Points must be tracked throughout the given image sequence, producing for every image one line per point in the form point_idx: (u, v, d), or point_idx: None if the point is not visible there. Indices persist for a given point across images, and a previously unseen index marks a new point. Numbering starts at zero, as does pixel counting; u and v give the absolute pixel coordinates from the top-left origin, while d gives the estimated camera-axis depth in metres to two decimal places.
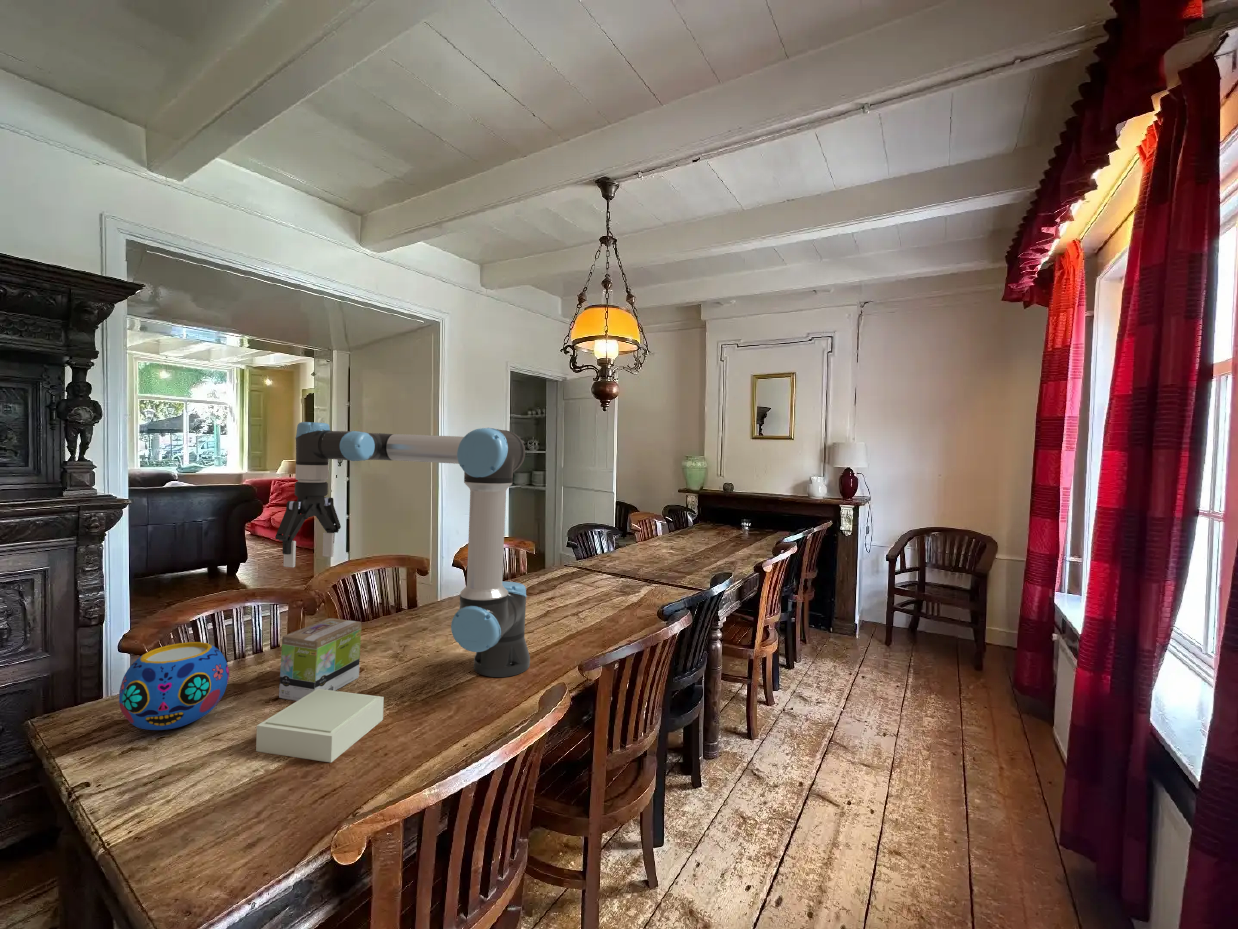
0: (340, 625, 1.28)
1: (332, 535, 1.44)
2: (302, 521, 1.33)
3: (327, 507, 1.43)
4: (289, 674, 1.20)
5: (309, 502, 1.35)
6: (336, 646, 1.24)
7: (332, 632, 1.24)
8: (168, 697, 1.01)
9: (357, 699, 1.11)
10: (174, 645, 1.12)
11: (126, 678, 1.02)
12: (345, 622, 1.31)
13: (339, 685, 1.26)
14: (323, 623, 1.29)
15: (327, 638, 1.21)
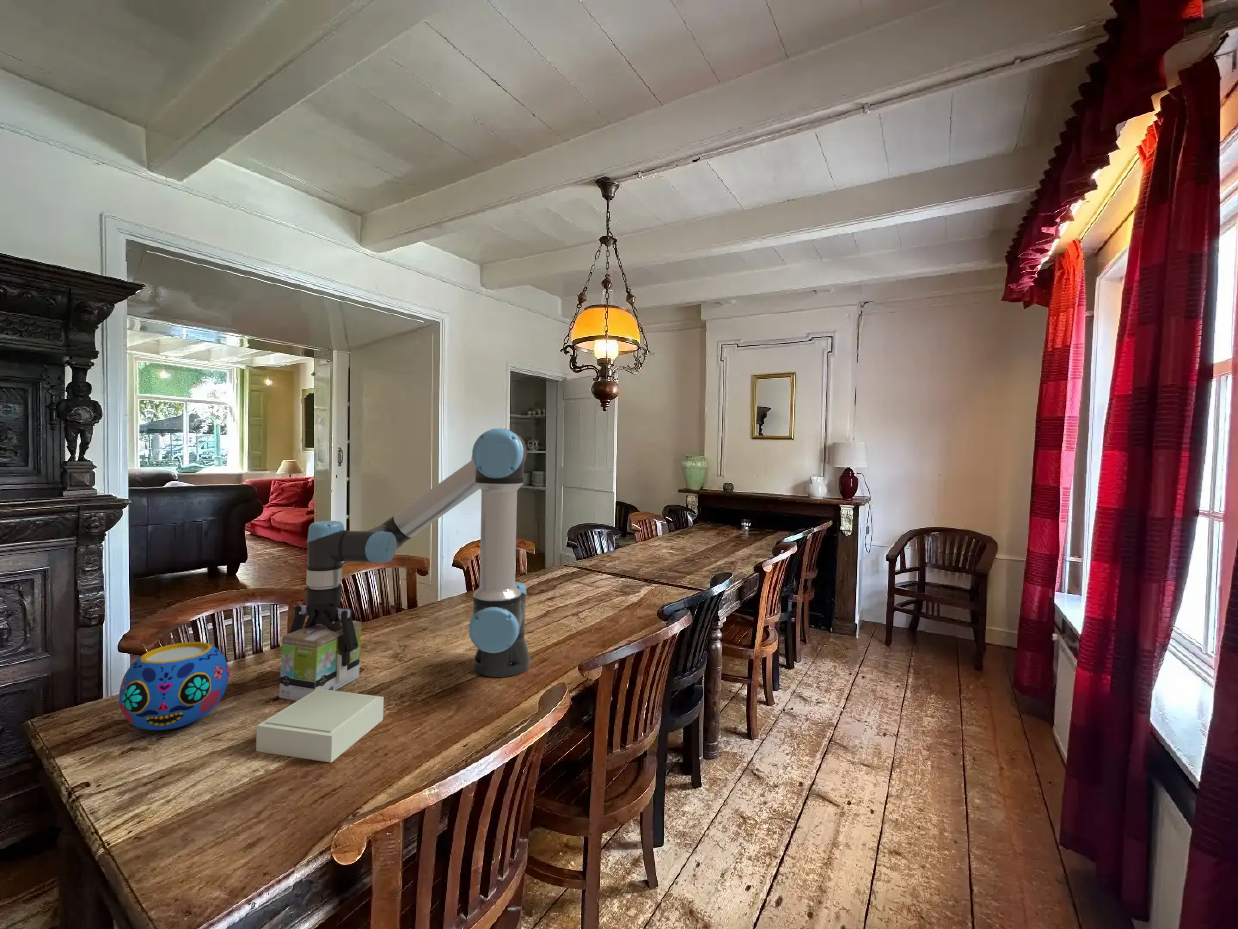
0: None
1: (338, 656, 1.24)
2: None
3: None
4: (290, 673, 1.20)
5: (312, 607, 1.25)
6: (336, 645, 1.24)
7: (333, 632, 1.24)
8: (168, 697, 1.01)
9: (357, 699, 1.11)
10: (174, 645, 1.12)
11: (126, 678, 1.02)
12: None
13: (339, 685, 1.26)
14: None
15: (327, 638, 1.21)
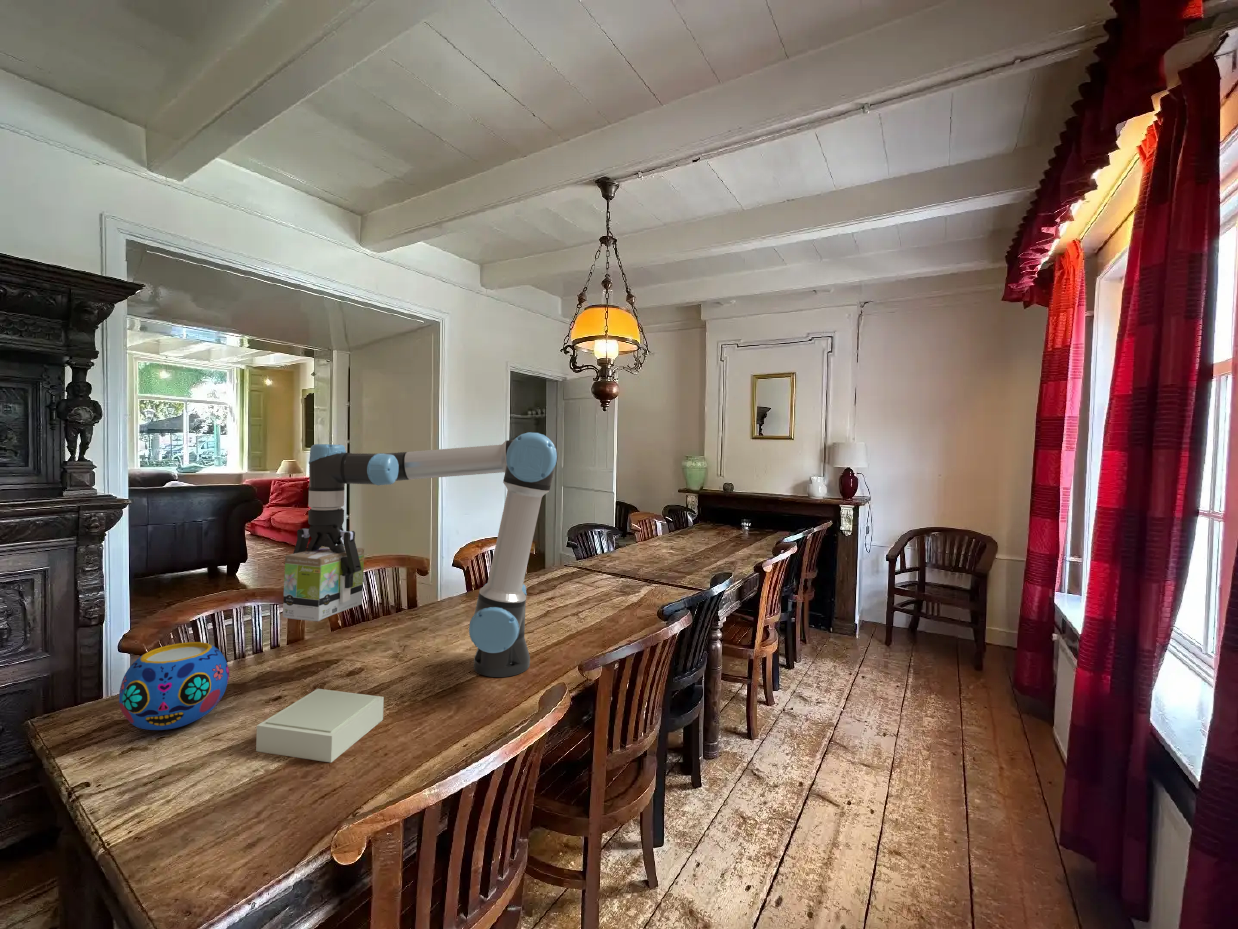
0: None
1: (341, 578, 1.24)
2: None
3: None
4: (293, 592, 1.19)
5: (315, 529, 1.25)
6: (340, 567, 1.24)
7: (336, 553, 1.24)
8: (168, 697, 1.01)
9: (357, 699, 1.11)
10: (174, 645, 1.12)
11: (126, 678, 1.02)
12: None
13: (343, 607, 1.26)
14: (326, 548, 1.29)
15: (330, 557, 1.21)
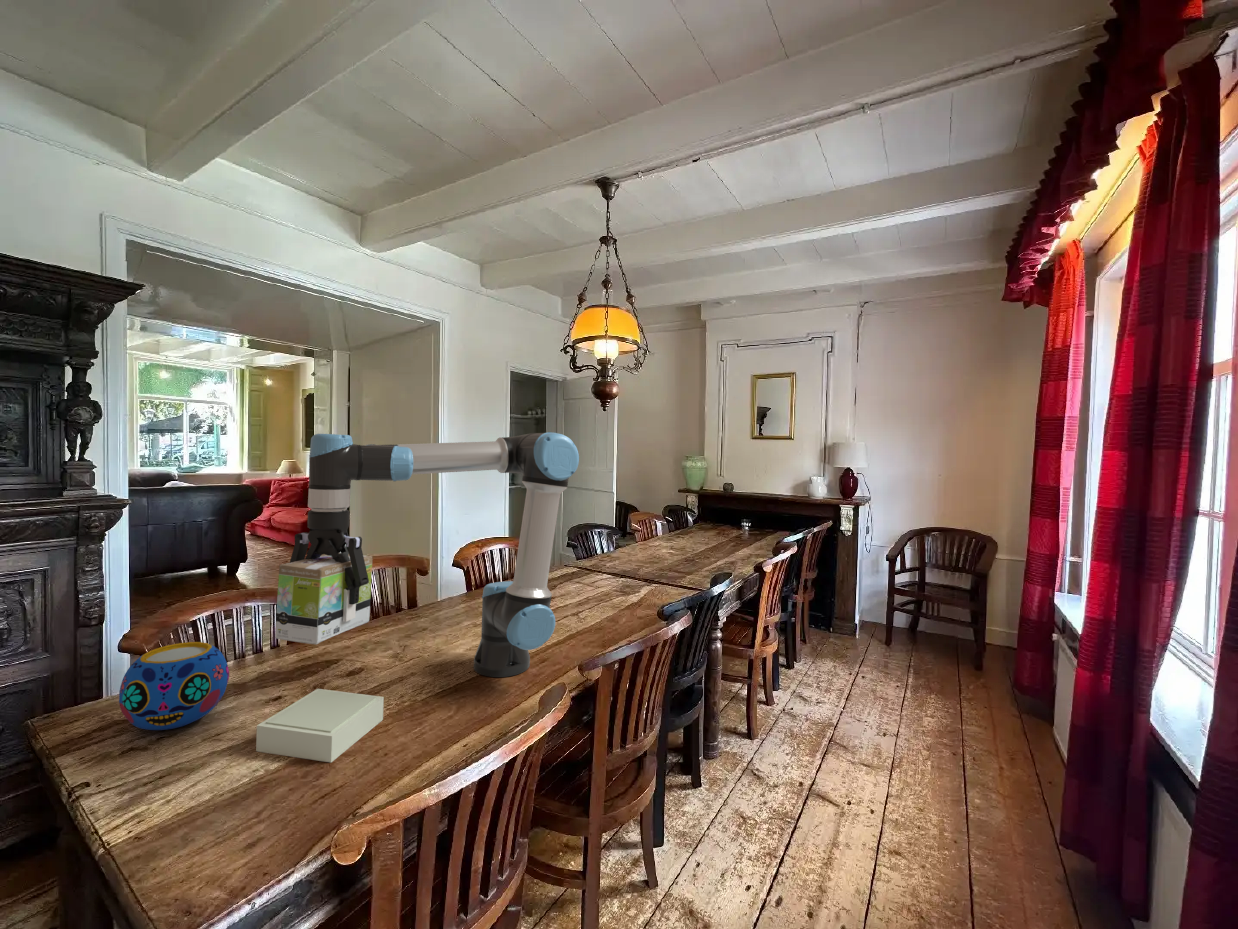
0: None
1: (345, 592, 1.05)
2: None
3: None
4: (288, 609, 1.00)
5: (315, 534, 1.06)
6: (343, 579, 1.05)
7: (339, 563, 1.05)
8: (168, 697, 1.01)
9: (357, 699, 1.11)
10: (174, 645, 1.12)
11: (126, 678, 1.02)
12: None
13: (346, 627, 1.07)
14: (328, 556, 1.10)
15: (332, 568, 1.02)
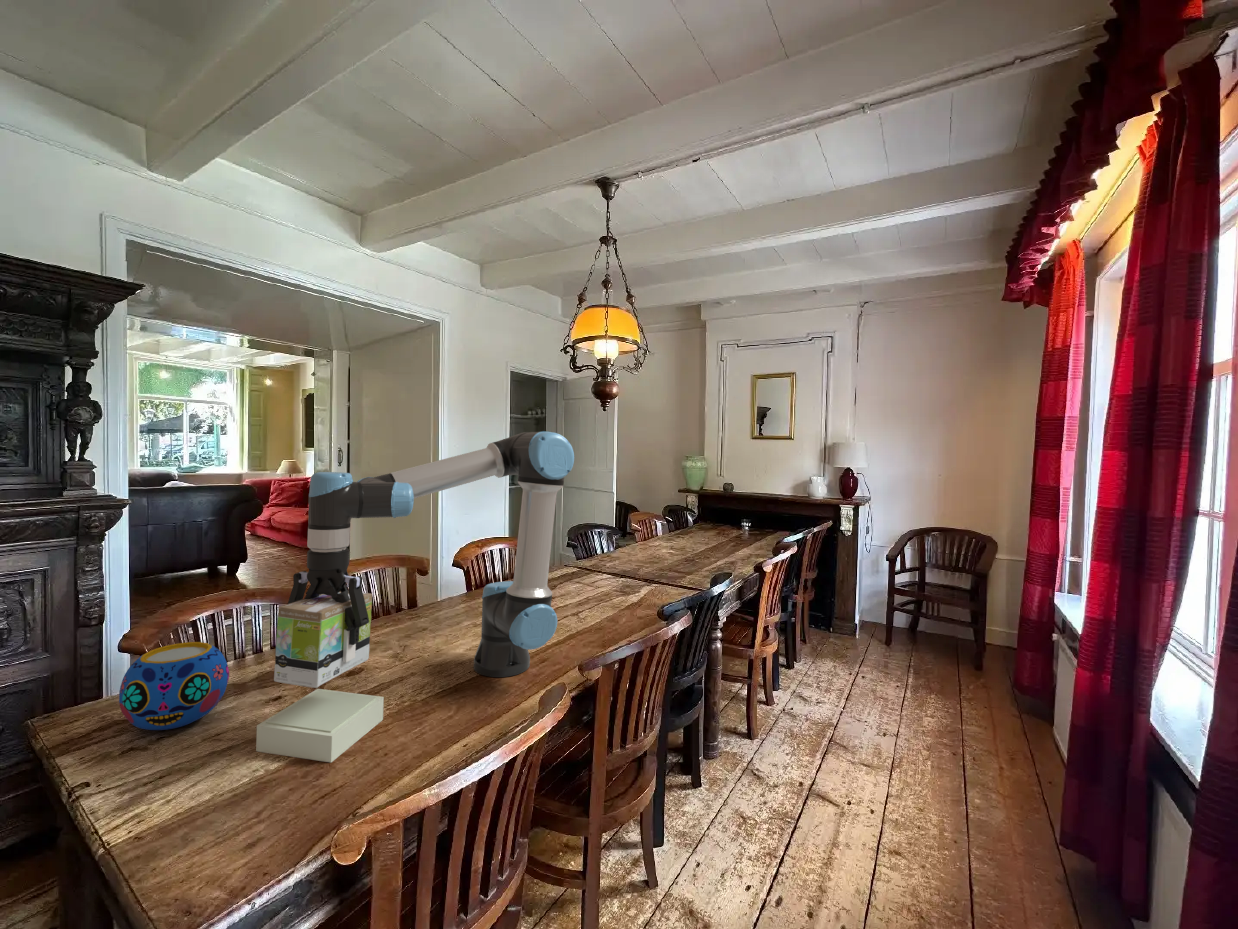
0: None
1: (345, 632, 1.04)
2: None
3: None
4: (287, 652, 0.99)
5: (315, 574, 1.05)
6: (343, 620, 1.04)
7: (339, 603, 1.03)
8: (168, 697, 1.01)
9: (357, 699, 1.11)
10: (174, 645, 1.12)
11: (126, 678, 1.02)
12: None
13: (346, 667, 1.05)
14: None
15: (333, 610, 1.01)
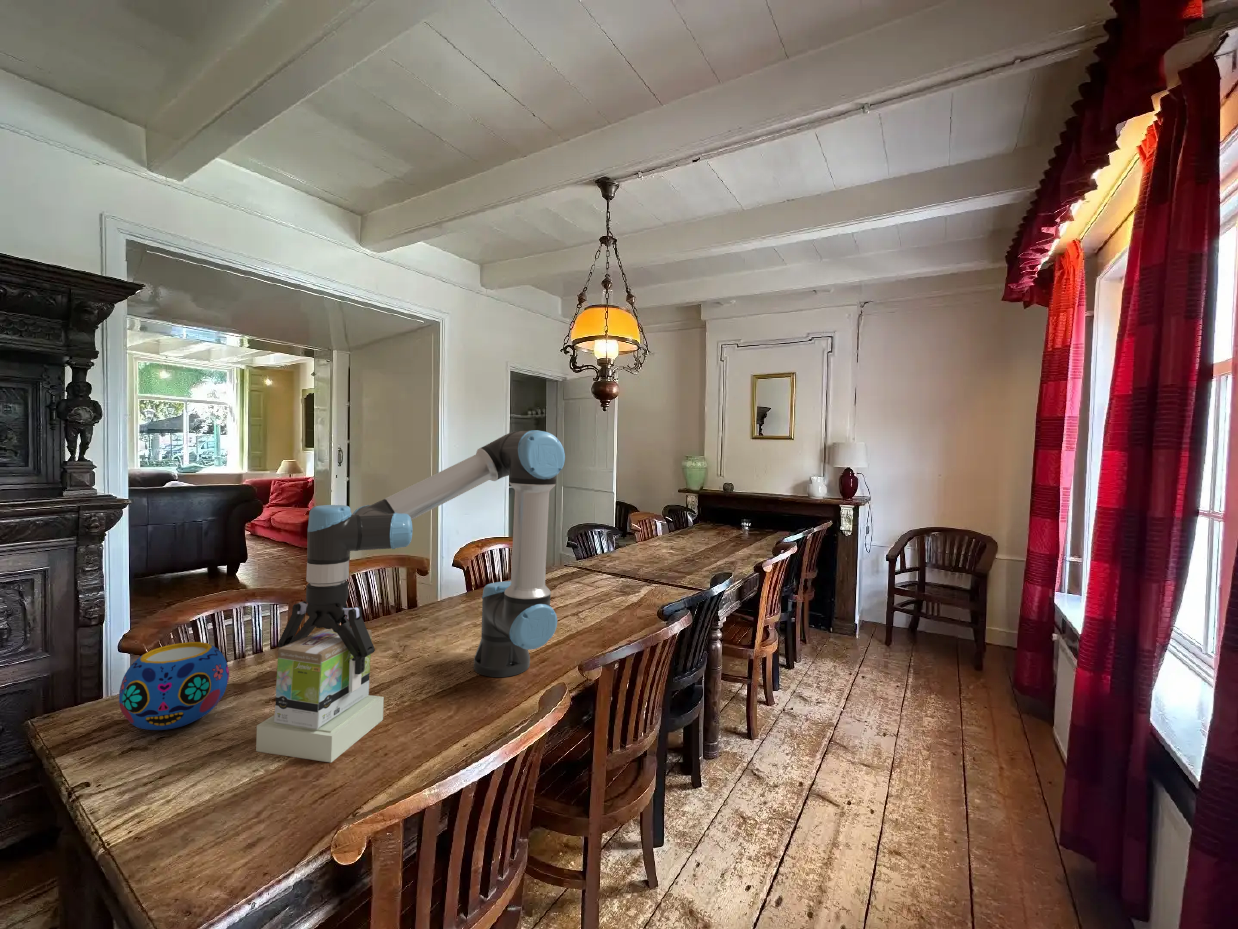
0: None
1: (350, 662, 1.04)
2: (303, 630, 1.05)
3: None
4: (287, 694, 0.99)
5: (314, 608, 1.05)
6: (343, 659, 1.04)
7: (339, 643, 1.04)
8: (168, 697, 1.01)
9: None
10: (174, 645, 1.12)
11: (126, 678, 1.02)
12: None
13: (346, 706, 1.06)
14: (326, 632, 1.09)
15: (333, 650, 1.01)
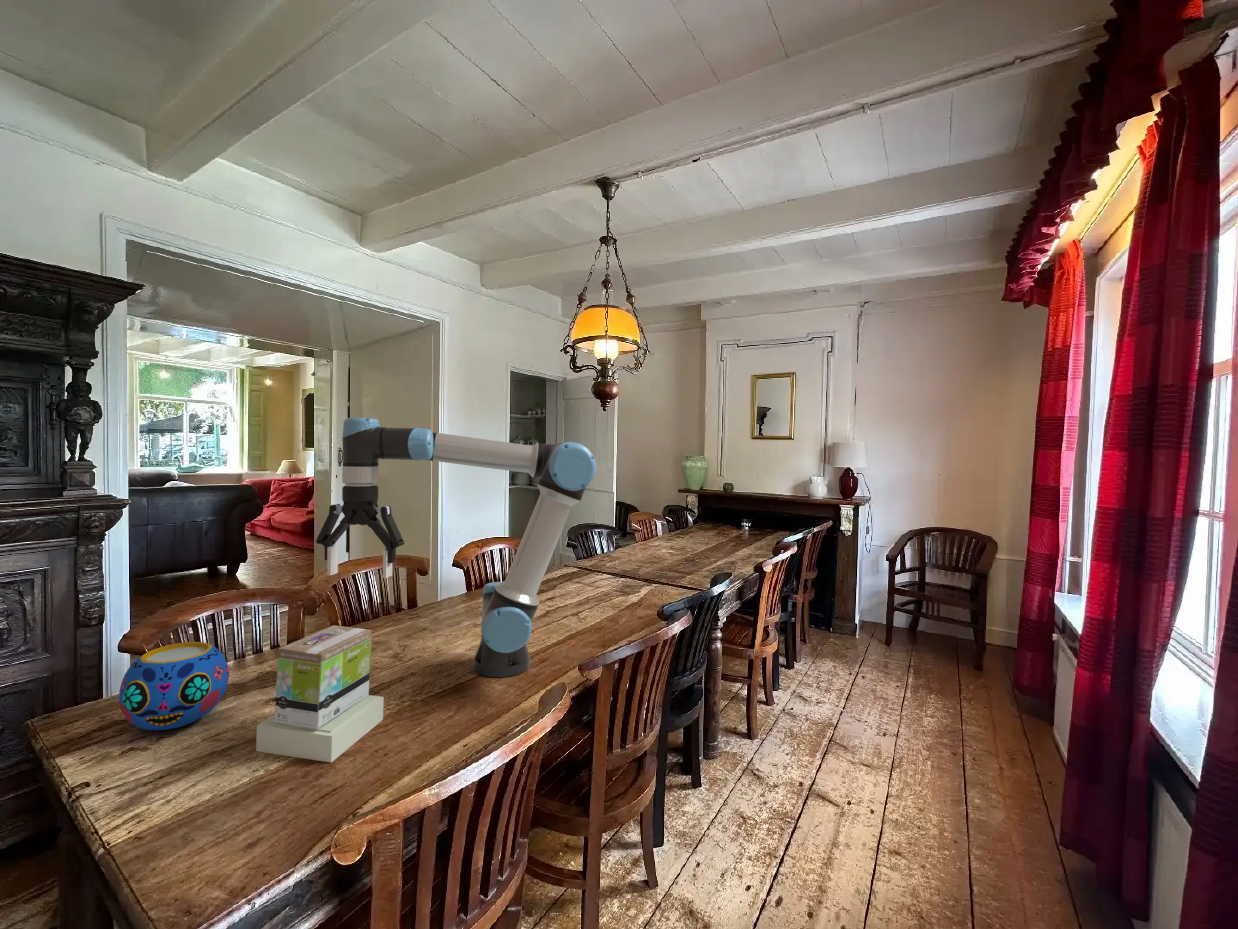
0: (347, 634, 1.08)
1: (384, 552, 1.19)
2: (339, 527, 1.20)
3: None
4: (287, 694, 0.99)
5: (349, 508, 1.20)
6: (343, 659, 1.04)
7: (339, 643, 1.04)
8: (168, 697, 1.01)
9: None
10: (174, 645, 1.12)
11: (126, 678, 1.02)
12: (352, 630, 1.11)
13: (346, 706, 1.06)
14: (327, 632, 1.09)
15: (333, 650, 1.01)
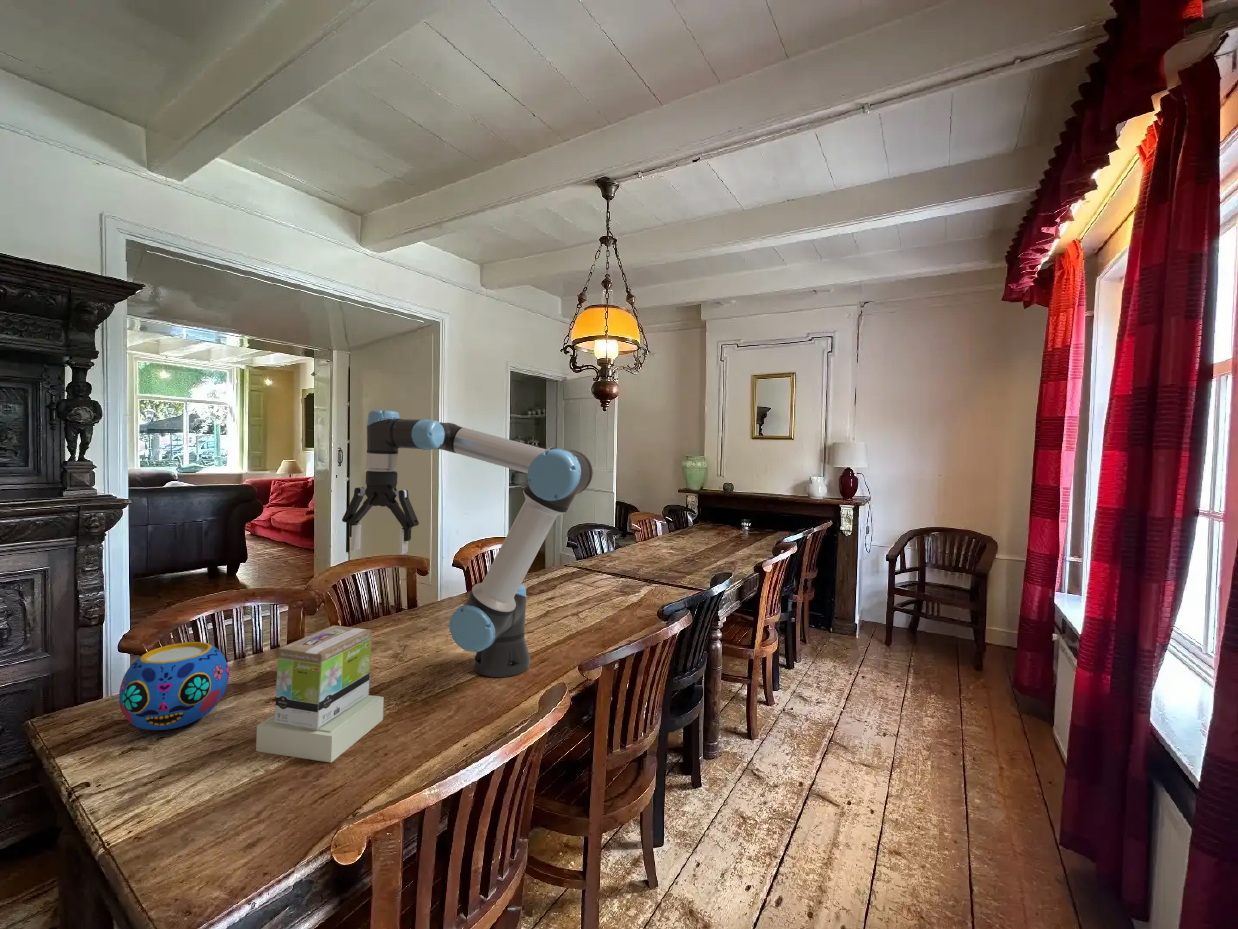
0: (347, 634, 1.08)
1: (400, 531, 1.33)
2: (362, 508, 1.35)
3: None
4: (287, 694, 0.99)
5: (371, 490, 1.34)
6: (343, 659, 1.04)
7: (339, 643, 1.04)
8: (168, 697, 1.01)
9: None
10: (174, 645, 1.12)
11: (126, 678, 1.02)
12: (352, 630, 1.11)
13: (346, 706, 1.06)
14: (327, 632, 1.09)
15: (333, 650, 1.01)
